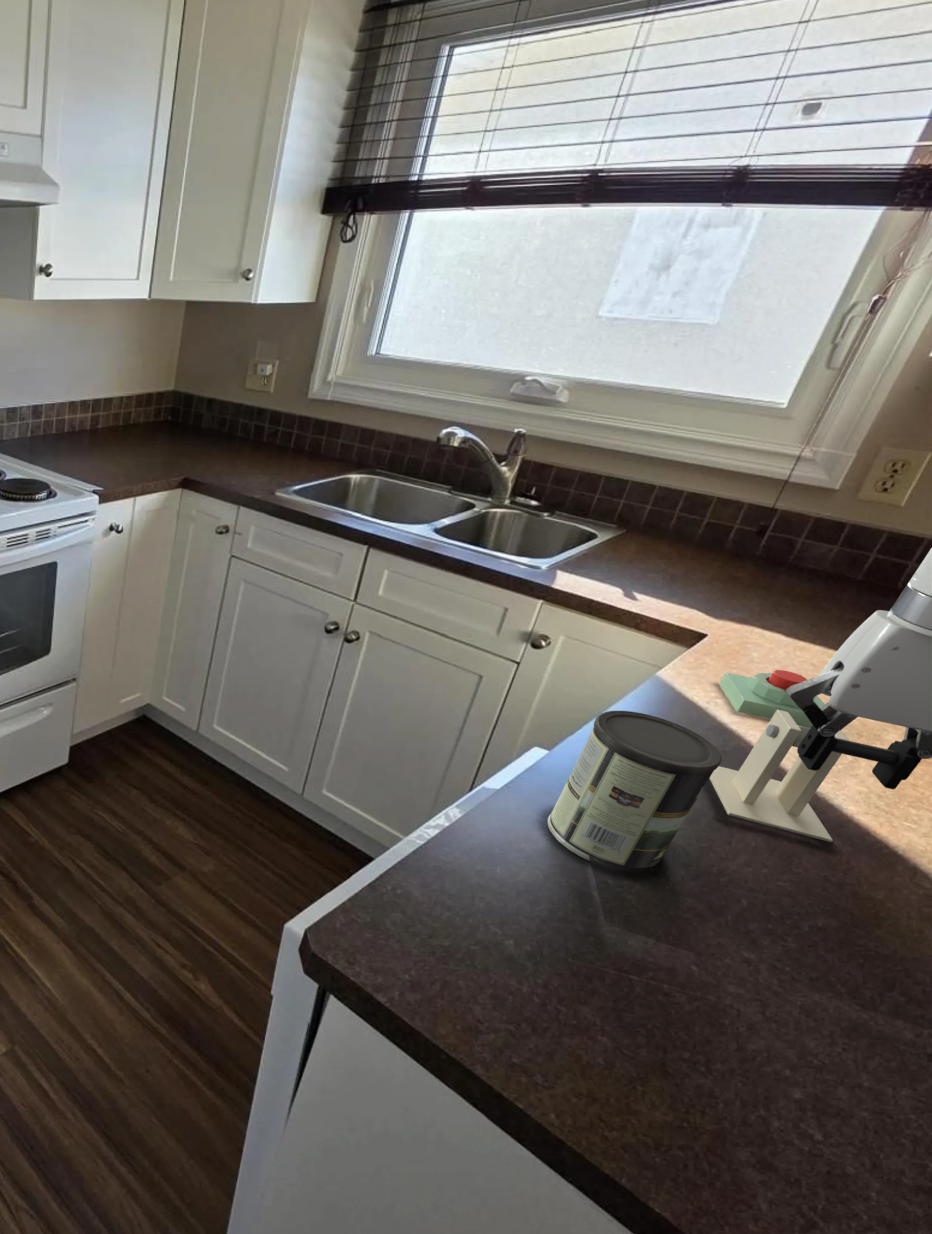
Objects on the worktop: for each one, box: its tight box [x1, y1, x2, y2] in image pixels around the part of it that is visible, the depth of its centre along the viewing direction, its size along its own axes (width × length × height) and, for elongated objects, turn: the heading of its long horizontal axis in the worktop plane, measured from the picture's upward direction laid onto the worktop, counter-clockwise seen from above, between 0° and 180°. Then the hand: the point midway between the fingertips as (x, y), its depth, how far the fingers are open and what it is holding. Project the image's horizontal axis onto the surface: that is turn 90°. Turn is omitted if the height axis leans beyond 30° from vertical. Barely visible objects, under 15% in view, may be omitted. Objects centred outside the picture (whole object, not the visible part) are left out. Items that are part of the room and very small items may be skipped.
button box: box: [718, 672, 826, 728], centre depth 111 cm, size 10×9×4 cm
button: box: [768, 669, 808, 690], centre depth 110 cm, size 4×4×2 cm
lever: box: [792, 725, 898, 765], centre depth 83 cm, size 12×5×2 cm, turn 152°
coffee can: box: [547, 710, 723, 869], centre depth 83 cm, size 10×10×14 cm
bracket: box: [709, 710, 850, 843], centre depth 89 cm, size 11×9×12 cm
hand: (845, 770), depth 80 cm, fingers closed on lever, 5 cm apart
